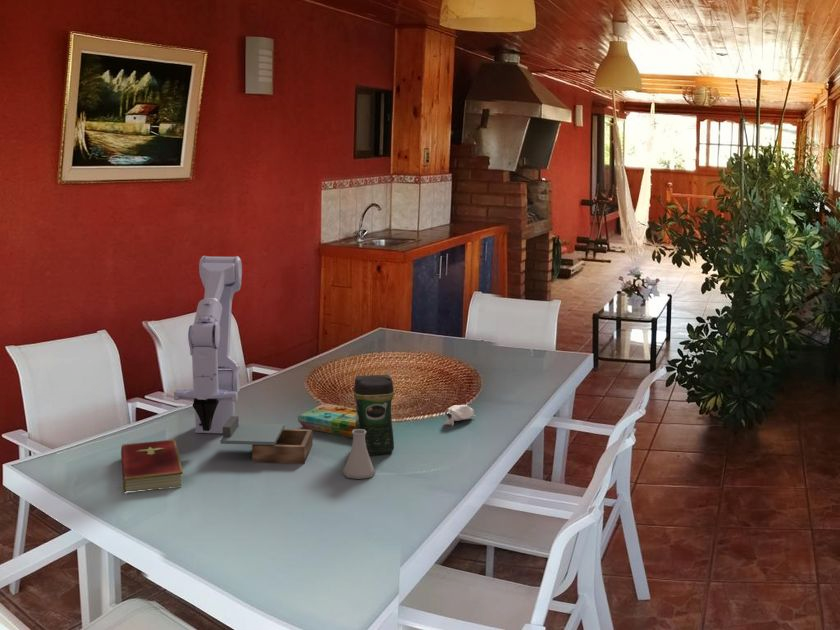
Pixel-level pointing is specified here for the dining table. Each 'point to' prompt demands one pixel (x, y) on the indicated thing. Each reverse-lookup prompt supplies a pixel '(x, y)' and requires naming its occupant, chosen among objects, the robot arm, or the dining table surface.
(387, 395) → the coffee jar
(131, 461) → the hardcover book
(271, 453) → the box
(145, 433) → the dining table surface
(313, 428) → the puzzle game
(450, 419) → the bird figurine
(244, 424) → the lid
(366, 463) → the flask
